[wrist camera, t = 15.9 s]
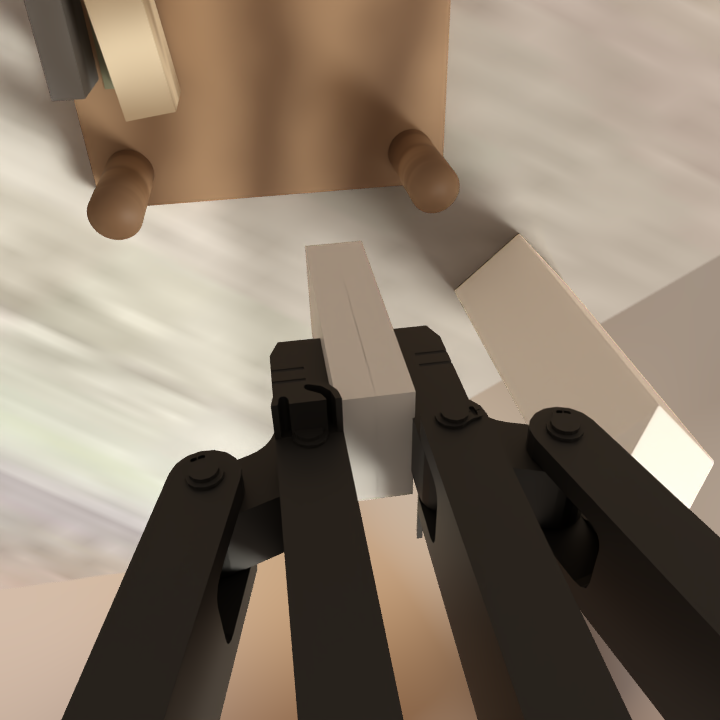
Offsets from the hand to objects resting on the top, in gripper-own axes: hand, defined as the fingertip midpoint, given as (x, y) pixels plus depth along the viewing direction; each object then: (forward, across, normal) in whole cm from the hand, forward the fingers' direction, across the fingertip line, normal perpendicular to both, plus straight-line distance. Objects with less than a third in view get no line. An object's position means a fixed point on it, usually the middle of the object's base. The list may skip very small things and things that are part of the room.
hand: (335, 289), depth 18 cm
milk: (+25, +15, -15) cm, 32 cm away
